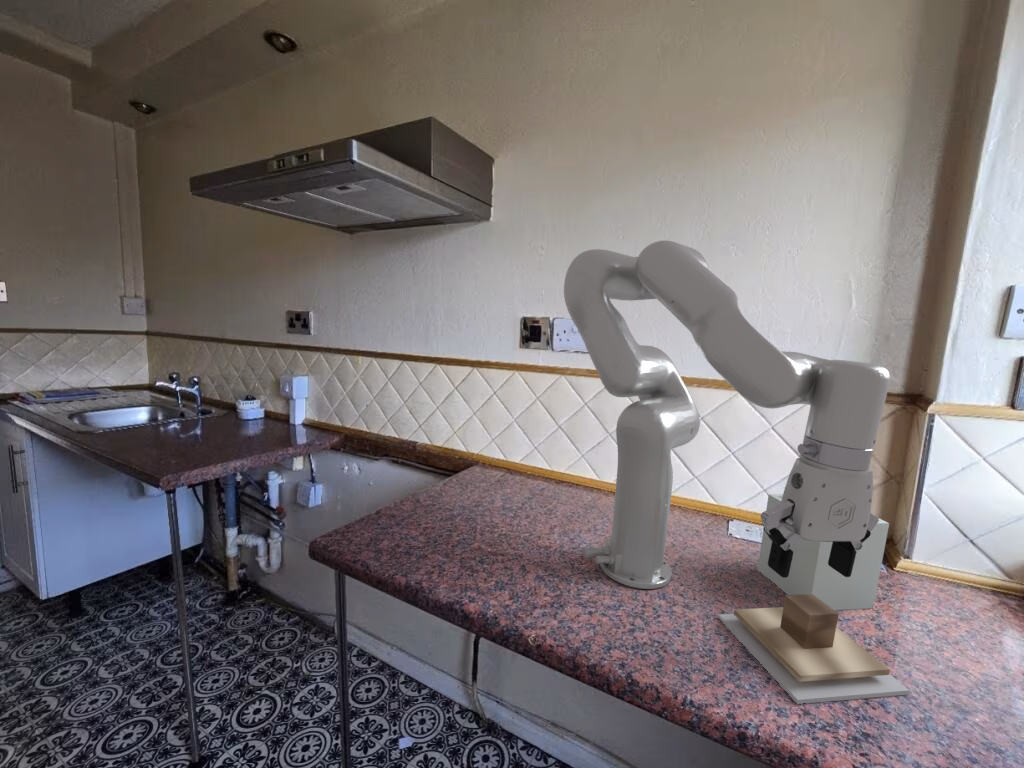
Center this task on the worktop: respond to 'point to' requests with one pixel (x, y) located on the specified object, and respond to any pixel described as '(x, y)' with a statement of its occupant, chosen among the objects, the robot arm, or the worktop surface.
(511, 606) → the worktop surface
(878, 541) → the box
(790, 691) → the mat
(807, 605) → the lid
